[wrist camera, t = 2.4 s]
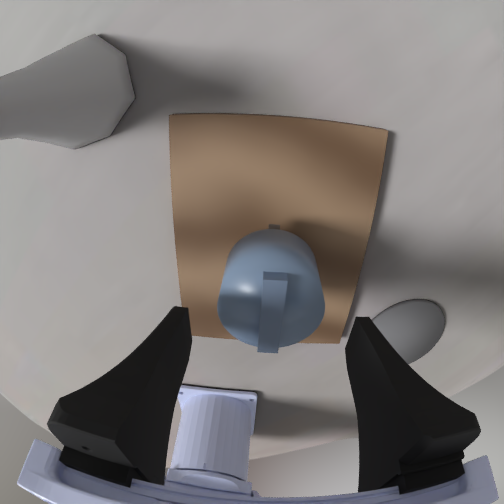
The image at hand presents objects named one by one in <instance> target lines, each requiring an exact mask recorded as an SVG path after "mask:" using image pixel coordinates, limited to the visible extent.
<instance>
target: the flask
mask: <svg viewBox="0 0 504 504" xmlns="http://www.w3.org/2000/svg"><path fill="white" fill-rule="evenodd" d="M134 99H135V95H134V91H133V87H132V82H131V78H130V74H129V69H128V65H127V60H126V56H125V54H124V53H122V52H121V51H119V50H118V49H116V48H115V47H114V46H112V45H111V44H109V43H108V42H106V41H105V40H103V39H102V38H100V37H99V36H97V35H96V34H93V35H90V36H88V37H85V38H83V39H81V40H79V41H77V42H75V43H72V44H70V45H68V46H66V47H64V48H62V49H60V50H58V51H56V52H54V53H52V54H50V55H48V56H46V57H44V58H42V59H40V60H38V61H36V62H34V63H32V64H31V65H29V66H27V67H25V68H23V69H20V70H17V71H14V72H12V73H9V74H6V75H4V76H1V77H0V140H4V139H13V138H20V139H27V140H33V141H39V142H45V143H50V144H54V145H58V146H62V147H66V148H70V149H77V148H80V147H82V146H85V145H87V144H90V143H92V142H95V141H98V140H100V139H103V138H106V137H108V136H110V135H111V133H112V132H113V130H114V129H115V127H116V126H117V124H118V122H119V121H120V119H121V118H122V116H123V115H124V113H125V112H126V111H127V109H128V108H129V106H130V105H131V103H132V102H133V100H134Z"/></svg>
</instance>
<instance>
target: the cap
mask: <svg viewBox="0 0 504 504" xmlns="http://www.w3.org/2000/svg"><path fill="white" fill-rule="evenodd" d="M217 311H218V316H219V319H220V321H221V323H222V325H223V326H224V328H225V329H226V330H227V331H228V332H229V333H230V334H231V335H232V336H234V337H235V338H237V339H238V340H240V341H242V342H244V343H247V344H249V345H253V346H257V347H258V350H257V352H264V353H278V348H279V347H285V346H289V345H293V344H295V343H298V342H300V341H302V340H304V339H305V338H307V337H308V336H310V335H311V334H312V333H313V332H314V331H315V330H316V329H317V328H318V326H319V325H320V323H321V321H322V319H323V317H324V313H325V300H324V295H323V290H322V286H321V281H320V277H319V273H318V268H317V264H316V260H315V256H314V254H313V252H312V250H311V248H310V247H309V246H308V244H307V243H306V242H305V241H304V240H302V239H301V238H300V237H298V236H296V235H295V234H293V233H290V232H287V231H284V230H278V229H265V230H259V231H255V232H253V233H250V234H248V235H246V236H244V237H243V238H242V239H240V240H239V241H238V242H237V243H236V244H235V245H234V246H233V248H232V249H231V251H230V253H229V255H228V258H227V262H226V266H225V271H224V275H223V280H222V284H221V289H220V293H219V298H218V302H217Z"/></svg>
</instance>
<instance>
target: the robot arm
mask: <svg viewBox="0 0 504 504" xmlns="http://www.w3.org/2000/svg"><path fill="white" fill-rule="evenodd" d="M191 345H192V335H191V327H190V318H189V309H188V308H187V307H177V306H174V307H173V308H172V309H171V310H170V312H169V313H168V314H167V315H166V317H165V318H164V319H163V320H162V321H161V323H160V324H159V325H158V326H157V327H156V328H155V329H154V331H153V332H152V333H151V334H150V335H149V336H148V337H147V338H146V339H145V340H144V341H143V342H142V343H141V344H140V345H139V346H138V347H137V348H136V349H135V350H134V351H133V352H132V353H131V354H130V355H129V356H128V357H126V358H125V359H124V360H123V361H122V362H120V363H119V364H118V365H117V366H115V367H114V368H113V369H111V370H110V371H109V372H107V373H106V374H104V375H103V376H102V377H100V378H98V379H97V380H95V381H93V382H92V383H90V384H88V385H87V386H85V387H83V388H81V389H79V390H77V391H75V392H73V393H70V394H68V395H66V396H64V397H61V398H59V400H58V402H57V403H56V405H55V407H54V410H53V412H52V414H51V416H50V418H49V421H48V423H47V425H48V428H49V430H50V431H51V432H52V433H53V434H54V435H55V436H56V438H58V439H59V441H60V442H61V443H62V444H63V445H64V448H63V451H61V450H60V449H58V448H56V447H54V446H52V445H49V444H47V443H45V442H42V441H40V440H38V439H34V442H33V444H32V446H31V449H30V451H29V453H28V456H27V458H26V461H25V463H24V466H23V468H22V471H21V473H20V476H19V479H18V481H17V484H18V485H19V486H20V487H22V488H24V489H25V490H27V491H28V492H30V493H32V494H33V495H35V496H37V497H38V498H40V499H42V500H44V501H45V502H48V503H49V504H490V503H493V502H494V501H496V500H498V498H499V497H498V493H497V488H496V485H495V481H494V477H493V474H492V471H491V467H490V463H489V460H488V457H487V456H486V455H485V456H482V457H480V458H477V459H474V460H472V461H469V462H467V463H465V464H462V460H461V459H463V458H464V452H463V450H464V449H465V448H466V447H468V446H469V445H470V444H471V443H472V442H473V441H474V440H475V439H476V438H477V437H478V436H479V434H480V432H481V429H480V426H479V424H478V421H477V418H476V416H475V414H474V413H473V412H470V411H469V410H467V409H465V408H463V407H461V406H459V405H458V404H456V403H454V402H453V401H451V400H450V399H448V398H447V397H445V396H444V395H443V394H441V393H440V392H438V391H437V390H436V389H435V388H433V387H432V386H431V385H430V384H428V383H427V382H426V381H425V380H424V379H423V378H422V377H420V376H419V375H418V374H417V373H416V372H415V371H414V370H413V369H412V368H411V367H410V366H409V365H408V364H407V363H406V362H405V360H404V359H403V358H402V357H401V356H400V355H399V354H398V353H397V351H396V350H395V349H394V348H393V347H392V345H391V344H390V343H389V342H388V341H387V339H386V338H385V337H384V336H383V334H382V333H381V332H380V330H379V329H378V328H377V327H376V325H375V324H374V323H373V321H372V320H371V319H370V318H369V317H356V319H355V322H354V325H353V328H352V331H351V333H350V336H349V339H348V342H347V345H346V348H345V353H346V363H347V371H348V375H349V380H350V384H351V389H352V393H353V398H354V402H355V407H356V412H357V419H358V432H359V463H360V464H359V486H358V493H352V494H342V495H332V496H318V497H290V498H273V497H271V498H270V497H261V496H260V495H259V493H258V492H257V491H254V490H251V489H252V483H251V482H247V476H248V461H249V446H250V435H253V432H254V423H255V414H256V404H257V394H256V393H255V392H245V391H232V390H221V389H211V388H202V387H193V386H185V385H181V384H182V381H183V377H184V374H185V371H186V368H187V364H188V361H189V356H190V351H191ZM177 397H178V399H179V403H180V407H181V410H182V415H181V420H180V424H179V429H178V433H177V438H176V443H175V447H174V452H173V457H172V461H171V466H170V468H168V472H167V477H166V479H165V467H166V458H167V450H168V442H169V435H170V429H171V423H172V418H173V412H174V407H175V404H176V400H177Z"/></svg>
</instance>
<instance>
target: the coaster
mask: <svg viewBox="0 0 504 504" xmlns="http://www.w3.org/2000/svg"><path fill="white" fill-rule="evenodd" d="M372 321H373V323H374V324H375V325H376V327H377V328H378V329H379V330H380V332H381V333H382V334H383V336H384V337H385V338H386V339H387V341H388V342H389V343H390V344H391V345H392V347H393V348H394V349H395V350H396V351H397V353H398V354H399V355H400V356H401V357H402V358H403V359H404V360H405V362H406V363H407V364H410V363H412V362H414V361H416V360H418V359H419V358H421V357H422V356H424V355H425V354H426V353H428V352H429V351H430V350H431V349H432V348H433V347H434V346H435V344H436V343H437V342H438V340H439V339H440V337H441V335H442V333H443V330H444V325H445V319H444V315H443V313H442V311H441V310H440V308H439V307H438V306H437V305H436V304H435V303H433V302H431V301H428V300H424V299H413V300H407V301H403V302H400V303H397V304H395V305H393V306H391V307H389V308H387V309H385V310H384V311H382V312H381V313H379V314H378V315H377V316H376V317H375V318H373V319H372Z"/></svg>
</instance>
